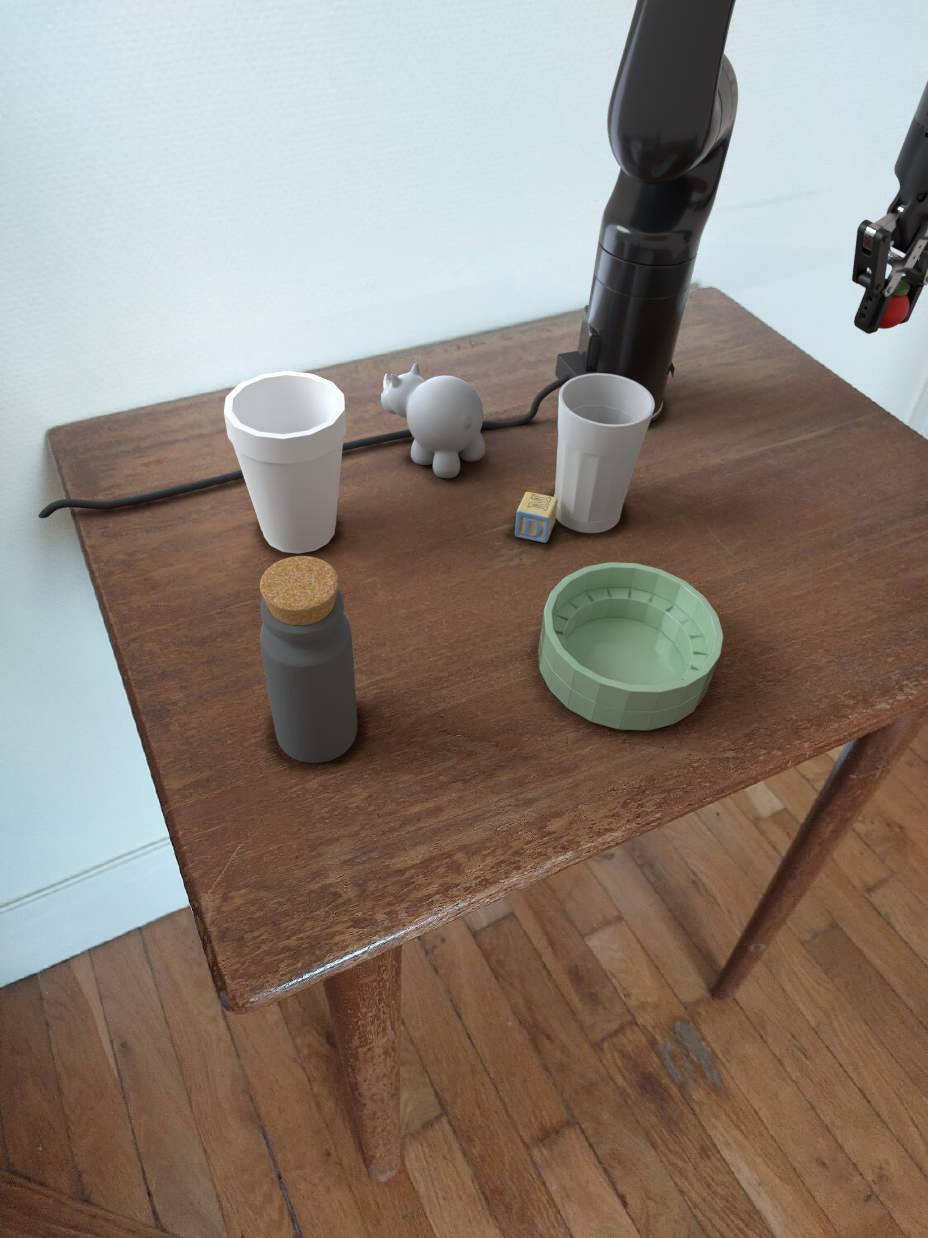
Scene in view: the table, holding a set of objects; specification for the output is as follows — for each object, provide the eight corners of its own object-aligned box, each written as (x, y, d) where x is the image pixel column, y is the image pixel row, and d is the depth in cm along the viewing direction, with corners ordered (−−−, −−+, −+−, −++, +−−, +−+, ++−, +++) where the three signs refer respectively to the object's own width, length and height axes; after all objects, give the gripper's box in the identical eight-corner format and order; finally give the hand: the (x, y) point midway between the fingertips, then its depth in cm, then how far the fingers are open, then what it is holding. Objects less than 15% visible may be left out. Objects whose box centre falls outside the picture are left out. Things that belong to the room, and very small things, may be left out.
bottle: (278, 700, 67) (253, 549, 56) (357, 697, 68) (348, 547, 57) (273, 766, 63) (246, 617, 52) (358, 762, 64) (347, 615, 53)
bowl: (543, 732, 66) (550, 689, 63) (533, 603, 75) (539, 559, 72) (721, 737, 67) (739, 694, 63) (690, 608, 76) (704, 564, 72)
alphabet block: (513, 536, 81) (516, 510, 79) (522, 515, 83) (525, 489, 81) (546, 544, 81) (550, 518, 78) (554, 523, 83) (558, 497, 81)
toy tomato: (866, 335, 82) (884, 292, 79) (853, 315, 84) (870, 273, 81) (905, 337, 82) (924, 294, 79) (891, 317, 84) (909, 275, 81)
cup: (640, 499, 86) (666, 388, 77) (613, 549, 81) (638, 436, 72) (561, 474, 88) (578, 364, 79) (530, 522, 83) (544, 409, 74)
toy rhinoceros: (413, 408, 95) (413, 333, 88) (496, 460, 89) (502, 383, 83) (360, 434, 91) (356, 358, 85) (443, 490, 85) (445, 413, 79)
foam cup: (277, 486, 85) (261, 361, 75) (369, 510, 83) (363, 385, 73) (226, 549, 78) (201, 421, 69) (323, 577, 76) (311, 450, 67)
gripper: (983, 93, 75) (899, 291, 88) (866, 114, 70) (794, 321, 82) (1064, 124, 71) (963, 327, 83) (945, 149, 65) (856, 362, 78)
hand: (879, 323), depth 83 cm, fingers closed on toy tomato, 3 cm apart
